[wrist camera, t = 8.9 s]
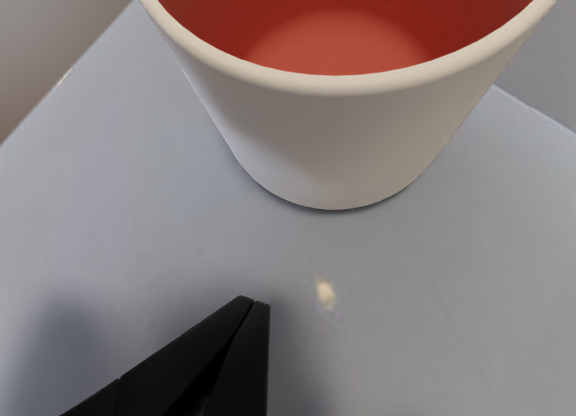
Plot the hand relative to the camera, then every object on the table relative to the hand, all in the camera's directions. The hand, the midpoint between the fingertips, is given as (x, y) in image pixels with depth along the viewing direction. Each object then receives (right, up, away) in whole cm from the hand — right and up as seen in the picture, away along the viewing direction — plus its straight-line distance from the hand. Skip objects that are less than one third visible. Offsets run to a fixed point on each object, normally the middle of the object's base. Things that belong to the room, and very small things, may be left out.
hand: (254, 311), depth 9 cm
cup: (+3, +7, +8) cm, 11 cm away
